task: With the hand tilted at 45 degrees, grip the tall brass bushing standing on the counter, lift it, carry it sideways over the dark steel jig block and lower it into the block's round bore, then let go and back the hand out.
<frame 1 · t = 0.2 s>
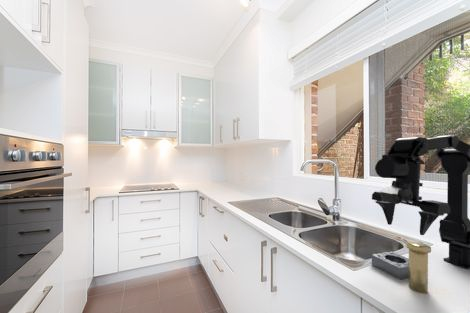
hand: (404, 229, 65), 14 cm above the worktop, tool pointing down, fingers open, 9 cm apart
bushing: (418, 288, 58), on the worktop
jig: (395, 269, 68), on the worktop
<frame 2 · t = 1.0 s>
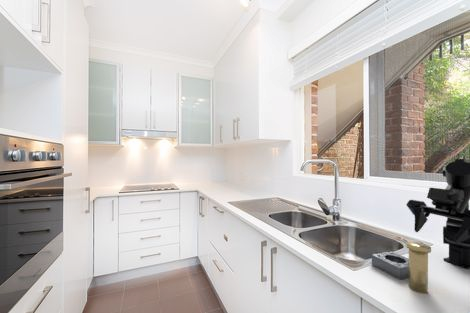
hand: (434, 236, 61), 13 cm above the worktop, tool tilted 45°, fingers open, 9 cm apart
nothing on the worktop moved.
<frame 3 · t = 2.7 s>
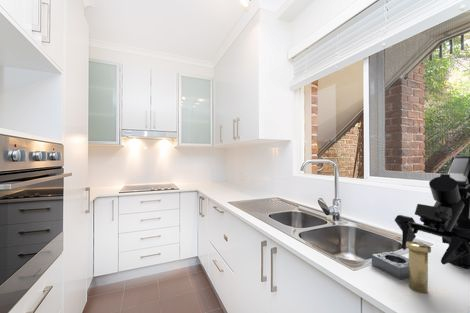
hand: (421, 255, 59), 9 cm above the worktop, tool tilted 45°, fingers open, 9 cm apart
nothing on the worktop moved.
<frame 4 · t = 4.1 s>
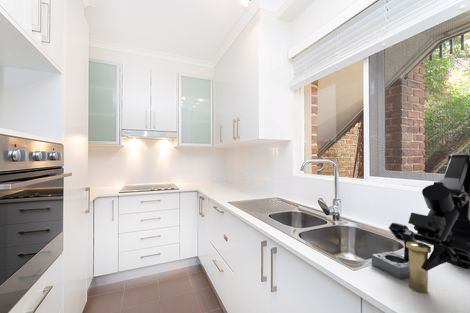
hand: (414, 265, 58), 7 cm above the worktop, tool tilted 45°, fingers closed on bushing, 4 cm apart
bushing: (418, 288, 58), on the worktop, touching gripper
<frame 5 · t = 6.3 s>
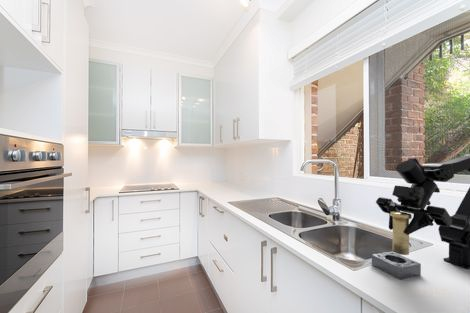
hand: (397, 231, 65), 13 cm above the worktop, tool tilted 45°, fingers closed on bushing, 4 cm apart
bushing: (400, 251, 66), point 7 cm above the worktop, touching gripper
when the fingers open (9 cm above the worktop, at t = 8.5 s): bushing drops 2 cm, resting in jig.
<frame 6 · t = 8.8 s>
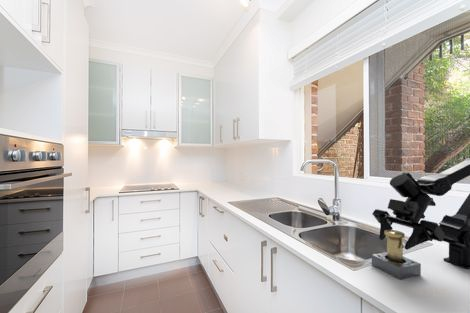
hand: (392, 243, 68), 9 cm above the worktop, tool tilted 45°, fingers open, 7 cm apart
bushing: (395, 269, 68), resting in jig
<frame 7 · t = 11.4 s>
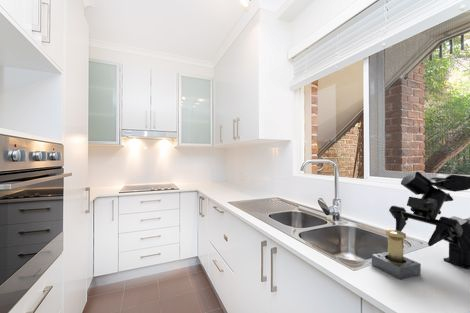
hand: (411, 239, 70), 9 cm above the worktop, tool tilted 45°, fingers open, 9 cm apart
nothing on the worktop moved.
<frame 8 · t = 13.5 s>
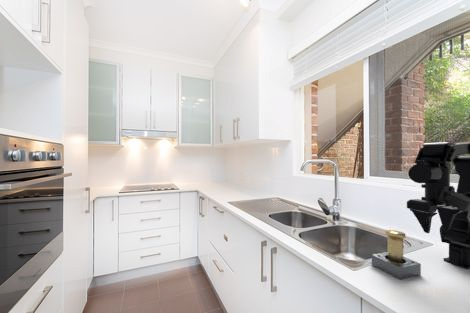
hand: (436, 231, 67), 13 cm above the worktop, tool pointing down, fingers open, 9 cm apart
nothing on the worktop moved.
at the end: bushing 0.1 cm off-centre on the jig, point 0.0 cm above the jig's base; bushing tilted 1°; the gripper is holding nothing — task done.
